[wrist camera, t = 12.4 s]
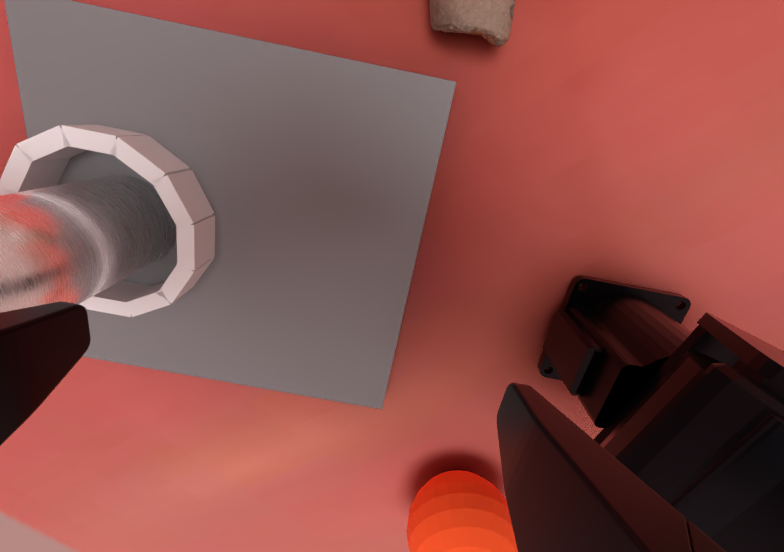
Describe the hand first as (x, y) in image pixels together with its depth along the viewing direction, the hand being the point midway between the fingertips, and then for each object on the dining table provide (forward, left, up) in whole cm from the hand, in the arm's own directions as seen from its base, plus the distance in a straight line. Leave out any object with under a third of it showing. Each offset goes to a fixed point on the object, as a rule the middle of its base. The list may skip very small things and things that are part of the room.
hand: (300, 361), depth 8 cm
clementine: (-9, +18, -13) cm, 24 cm away
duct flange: (+6, +2, -13) cm, 15 cm away
